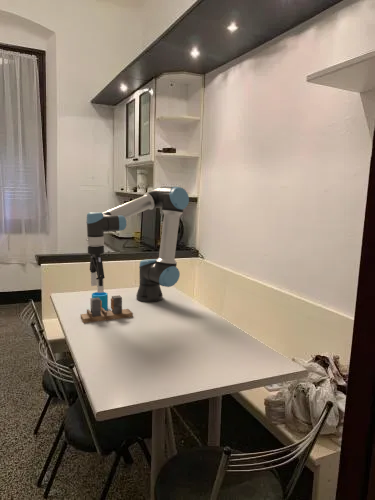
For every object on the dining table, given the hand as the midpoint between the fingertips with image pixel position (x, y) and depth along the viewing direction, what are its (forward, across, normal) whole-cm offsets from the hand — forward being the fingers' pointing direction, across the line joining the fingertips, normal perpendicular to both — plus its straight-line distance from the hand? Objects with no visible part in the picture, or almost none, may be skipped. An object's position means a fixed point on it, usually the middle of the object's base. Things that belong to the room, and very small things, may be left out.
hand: (97, 288), depth 188 cm
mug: (+15, -17, +4) cm, 23 cm away
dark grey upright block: (+13, 0, -1) cm, 13 cm away
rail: (+15, 0, +4) cm, 15 cm away
